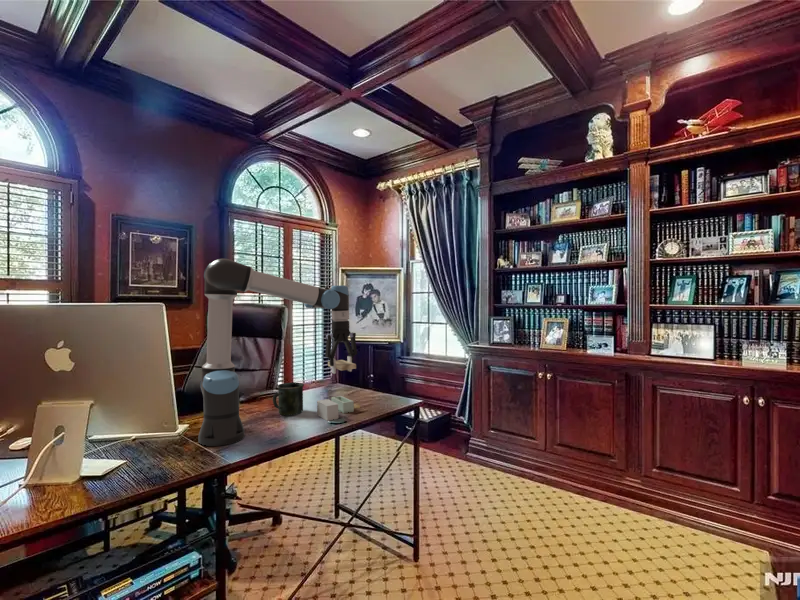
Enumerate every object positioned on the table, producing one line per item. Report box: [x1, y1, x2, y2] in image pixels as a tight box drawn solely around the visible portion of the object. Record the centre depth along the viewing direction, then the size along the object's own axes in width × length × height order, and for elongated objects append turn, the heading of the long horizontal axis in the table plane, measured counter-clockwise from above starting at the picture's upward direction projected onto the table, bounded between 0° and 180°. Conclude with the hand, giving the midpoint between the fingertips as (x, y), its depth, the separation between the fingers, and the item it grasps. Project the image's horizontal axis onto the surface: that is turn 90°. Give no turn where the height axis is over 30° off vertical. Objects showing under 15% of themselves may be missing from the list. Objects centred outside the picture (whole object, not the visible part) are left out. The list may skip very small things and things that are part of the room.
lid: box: [327, 359, 357, 372], centre depth 183 cm, size 7×14×2 cm, turn 33°
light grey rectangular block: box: [316, 398, 339, 422], centre depth 173 cm, size 5×10×6 cm, turn 34°
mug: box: [272, 382, 304, 416], centre depth 179 cm, size 11×15×12 cm
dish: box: [331, 395, 355, 414], centre depth 184 cm, size 5×12×4 cm, turn 34°
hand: (341, 372), depth 183 cm, fingers closed on lid, 7 cm apart
